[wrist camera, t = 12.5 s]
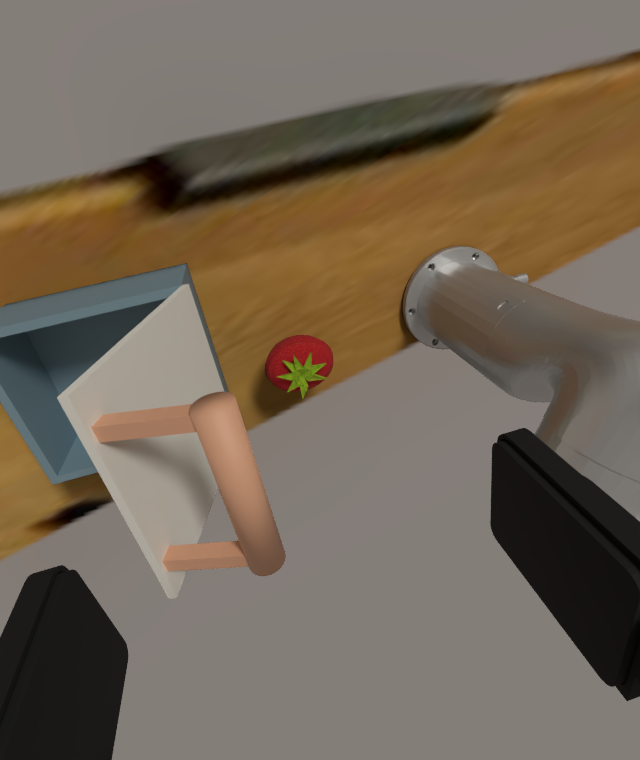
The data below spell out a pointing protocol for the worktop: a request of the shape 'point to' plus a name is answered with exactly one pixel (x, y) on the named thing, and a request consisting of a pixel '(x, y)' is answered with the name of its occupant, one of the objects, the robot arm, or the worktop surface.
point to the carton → (72, 356)
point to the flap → (173, 447)
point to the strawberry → (299, 363)
